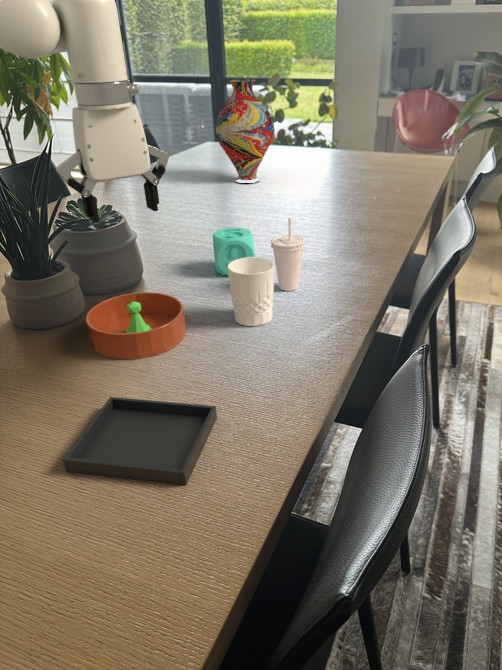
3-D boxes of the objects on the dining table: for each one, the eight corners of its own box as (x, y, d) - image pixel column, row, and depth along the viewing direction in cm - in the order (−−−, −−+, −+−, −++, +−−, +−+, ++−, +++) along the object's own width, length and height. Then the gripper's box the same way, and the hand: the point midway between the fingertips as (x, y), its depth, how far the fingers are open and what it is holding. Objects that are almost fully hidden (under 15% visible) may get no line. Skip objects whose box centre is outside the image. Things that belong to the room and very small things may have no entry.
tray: (66, 471, 65) (62, 459, 64) (112, 407, 76) (110, 396, 75) (186, 485, 63) (184, 473, 62) (217, 417, 74) (215, 406, 73)
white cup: (268, 305, 103) (266, 254, 97) (281, 324, 96) (280, 270, 91) (227, 312, 101) (222, 260, 95) (237, 331, 94) (234, 276, 89)
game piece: (150, 338, 92) (144, 306, 89) (124, 340, 92) (117, 307, 89) (153, 326, 96) (148, 295, 92) (128, 328, 95) (122, 296, 92)
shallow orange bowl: (74, 355, 89) (68, 331, 86) (115, 312, 102) (111, 290, 99) (167, 362, 86) (163, 337, 84) (197, 317, 99) (195, 294, 97)
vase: (207, 183, 182) (198, 82, 166) (242, 172, 195) (237, 77, 179) (253, 191, 173) (247, 84, 157) (286, 178, 186) (285, 78, 170)
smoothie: (293, 296, 106) (292, 225, 98) (266, 290, 109) (263, 219, 101) (310, 285, 110) (311, 215, 103) (283, 279, 113) (282, 211, 106)
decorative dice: (251, 261, 122) (249, 225, 118) (255, 275, 115) (254, 237, 111) (215, 264, 121) (211, 228, 117) (217, 278, 114) (214, 241, 110)
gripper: (150, 89, 85) (164, 200, 95) (34, 98, 77) (63, 219, 87) (169, 92, 80) (183, 210, 89) (48, 103, 72) (77, 231, 81)
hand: (124, 214), depth 88 cm, fingers open, 9 cm apart
